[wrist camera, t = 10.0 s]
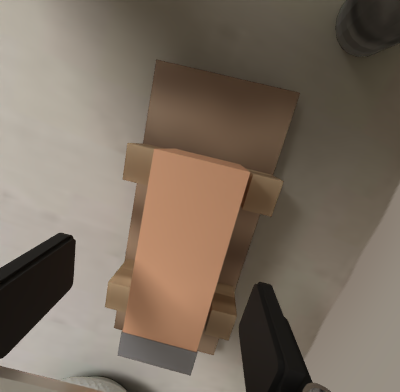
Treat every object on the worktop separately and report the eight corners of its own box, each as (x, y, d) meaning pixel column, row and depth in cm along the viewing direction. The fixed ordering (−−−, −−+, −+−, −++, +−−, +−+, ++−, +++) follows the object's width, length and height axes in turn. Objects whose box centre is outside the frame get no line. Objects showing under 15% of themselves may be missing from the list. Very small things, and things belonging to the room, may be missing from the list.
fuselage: (174, 148, 15) (152, 148, 10) (240, 164, 15) (251, 172, 10) (144, 300, 18) (117, 355, 14) (197, 314, 18) (190, 375, 13)
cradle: (161, 67, 16) (138, 33, 12) (292, 97, 16) (324, 76, 11) (120, 316, 23) (94, 361, 18) (213, 341, 23) (212, 394, 18)
